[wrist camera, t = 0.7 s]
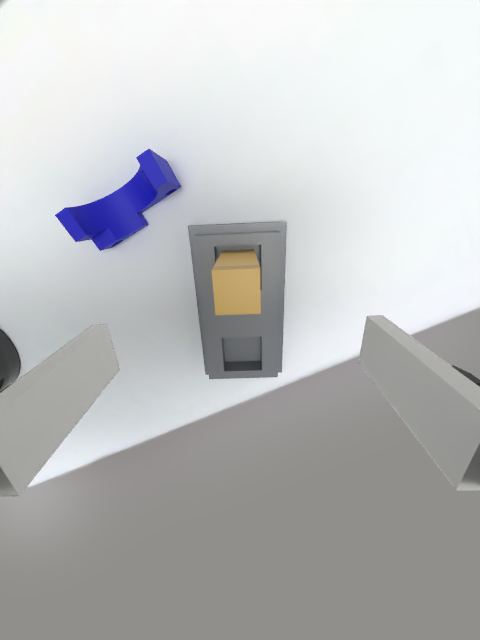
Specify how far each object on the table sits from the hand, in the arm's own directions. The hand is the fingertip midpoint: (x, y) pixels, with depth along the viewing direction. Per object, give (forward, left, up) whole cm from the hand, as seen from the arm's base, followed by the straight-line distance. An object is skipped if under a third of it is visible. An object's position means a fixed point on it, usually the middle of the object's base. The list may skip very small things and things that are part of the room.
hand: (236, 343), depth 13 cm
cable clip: (-12, +7, -22) cm, 27 cm away
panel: (0, -6, -22) cm, 23 cm away
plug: (0, 0, -21) cm, 21 cm away
